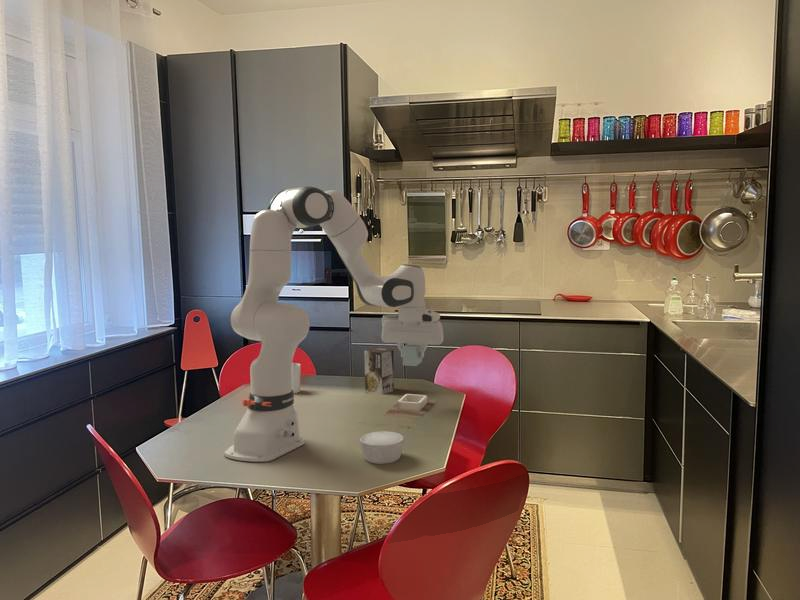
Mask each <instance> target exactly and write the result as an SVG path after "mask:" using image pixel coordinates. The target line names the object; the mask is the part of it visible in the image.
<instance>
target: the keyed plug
mask: <svg viewBox="0 0 800 600" xmlns="http://www.w3.org/2000/svg"><path fill="white" fill-rule="evenodd" d="M422 349H423V348H422V345H421V344H407V343H405V345H403V346H402V352H403V357H402V366H406V367H407V366H408V367H410V366H411V367H417V366H419V364H421V363H422V362H423V358H419V357H418V356H419V355H418V352H421V351H422Z"/></svg>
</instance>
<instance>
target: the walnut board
mask: <svg viewBox="0 0 800 600" xmlns="http://www.w3.org/2000/svg"><path fill="white" fill-rule="evenodd" d="M436 402H437V400H432V399H431V400H430V399H428V403H427V404H426V405H425V406H424V407H423V408H422V409H421V410H420V411H412V410H400V409H397V402H396V403H395V404H394V405H393V406H391V408H390V409H388V410H387V411H386V412H385V413H384V414H383V416H390V417H403V418H413V419H414V418H415V419H422V418H423V416H424V415H425V414H427V412H428V411H429V409H431V408H432V406H433V405H435V403H436Z"/></svg>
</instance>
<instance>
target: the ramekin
mask: <svg viewBox="0 0 800 600" xmlns="http://www.w3.org/2000/svg"><path fill="white" fill-rule="evenodd" d="M404 442H405V438H404V436H403V435H402V434H400V433H399V432H394V431H386V430H384V431H371V432H368V433H365V434H363V435H362V436H361V437H360V438H359V444H360V447H361V452H362V456H363V458H364V460H365V461H366V462H368V463H370V464H375V465H377V464H379V465H385V464H391V463H395V462H396V461H398V460H399V459H400V458H401V456H402V450H403V445H404Z"/></svg>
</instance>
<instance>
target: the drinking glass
mask: <svg viewBox="0 0 800 600" xmlns="http://www.w3.org/2000/svg"><path fill="white" fill-rule="evenodd" d="M292 390H293V393H294V394H298V392H299V393H300V392H301V364H300V363H297V362H296V363H295V362H292Z"/></svg>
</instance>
